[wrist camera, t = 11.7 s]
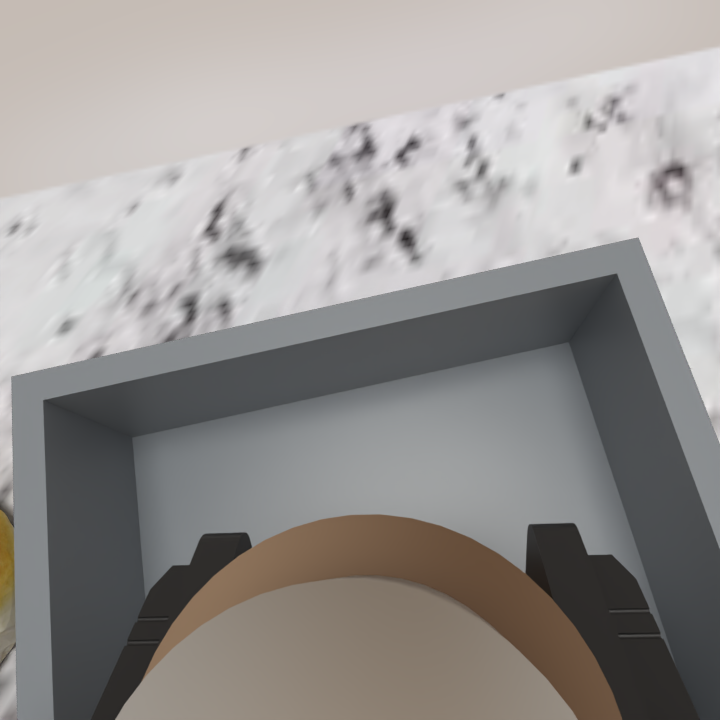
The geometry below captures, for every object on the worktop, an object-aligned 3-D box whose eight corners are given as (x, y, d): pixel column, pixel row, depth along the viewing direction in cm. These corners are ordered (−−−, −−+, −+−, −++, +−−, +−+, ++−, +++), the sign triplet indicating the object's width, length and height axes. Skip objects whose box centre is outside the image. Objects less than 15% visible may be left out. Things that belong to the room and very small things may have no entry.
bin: (164, 1013, 16) (25, 1262, 10) (120, 425, 21) (11, 376, 15) (771, 895, 16) (972, 1086, 10) (578, 325, 21) (638, 237, 15)
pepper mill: (326, 777, 14) (-41, 1574, 3) (292, 565, 16) (-32, 570, 5) (527, 735, 14) (931, 1406, 3) (473, 526, 16) (598, 429, 4)
